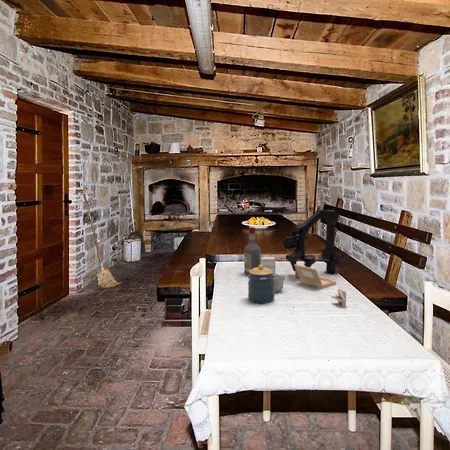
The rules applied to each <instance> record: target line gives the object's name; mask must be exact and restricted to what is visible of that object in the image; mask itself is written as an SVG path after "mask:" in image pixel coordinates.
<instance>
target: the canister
mask: <svg viewBox="0 0 450 450" xmlns="http://www.w3.org/2000/svg"><path fill="white" fill-rule="evenodd" d="M249 272H250V274H249V275H248V276H247V278H248V282H247V284H248V285H247V287H248V294H247V297H248V300H249V301H250V302H252V303H253V304H269V303H272V302H273V301H274V300H275V292H274V282H273V278H274V275H273V274H272V270H270V269H269V268H265V267H263V265H261V264H260V265H259V266H258V267H256V268H253V269H252V270H250V271H249Z"/></svg>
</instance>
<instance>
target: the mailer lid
mask: <svg viewBox="0 0 450 450" xmlns="http://www.w3.org/2000/svg"><path fill="white" fill-rule="evenodd" d="M294 266H295V268H296V270H297V272H298V275H299V277H300V279H303V280H307V281H310V282H314V283H318V284H322V282H321V280H320V277H321V276H320V275H319V272H318V271H317V269H316V268H313V267H310V268H309V267H305V265H299V264H297V263H296V264H294ZM300 279H299V280H300Z"/></svg>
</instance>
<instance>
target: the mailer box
mask: <svg viewBox="0 0 450 450" xmlns="http://www.w3.org/2000/svg"><path fill="white" fill-rule="evenodd" d="M319 277H320V280H321V282H322V284H318V283H314V282H310V281H307V280H303V279H299V280H300V284H301V283H302V284H304V285H309V286H313V287H316V288H320V289H326V288H329V287H332V286H335V285H336V284H337V281H336V280H334V279H330V278H326V277H322V276H319ZM334 284H335V285H334Z"/></svg>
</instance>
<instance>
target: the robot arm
mask: <svg viewBox="0 0 450 450" xmlns="http://www.w3.org/2000/svg"><path fill="white" fill-rule="evenodd" d="M339 213H340V212H338V211H337V210H334V209H327V210H326V209H325V210H324V209H319V208H318V209H317V210H316V212H314V213H313V214H312V215H311V216H310V217H309V218H307V219H306V220H305V221H304V222H302V223H300V224H297V225H296V226H295V227H294V228H293V231H292V232H291V235H290V236H286V237H285V239H284V240H283V247H284V249H285V250H288V249H293V251H292V252H291V253H288V254H286V255H285V260H287V262H289V264H290V266H291V268H292V271H293V272H295V266H294V264H296V265H297V263H298V261H301V262H303V266H305V267H309V268H312V266H313V265H314V264H316V263H317V262H316V258H315V257H312V256H311V257H307V255H306V251H307V250H308V249H307V248H306V240H309V238H308V237H307V235H308V233H309V232H310V229H311V228H312V227H313V226H314V225H315V224H316V223H318V222H319V221H320V220H321V219H322V218H323V217H324V222H325V224H326V230H325V231H326V233H325V235H326V236H325V247H324V248H323V249H321V256H322V259H323V263H326V268H325V269H326V270H325V271H324V273H325V274H330V275H336V274H339V271H338V269H337V268H338V265H340V263H341V261H340V259H339V257H337V251H336V249H335V235H336V234H335V233H336V224H337V223H338V220H339V216H340V214H339ZM335 273H336V274H335Z"/></svg>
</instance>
